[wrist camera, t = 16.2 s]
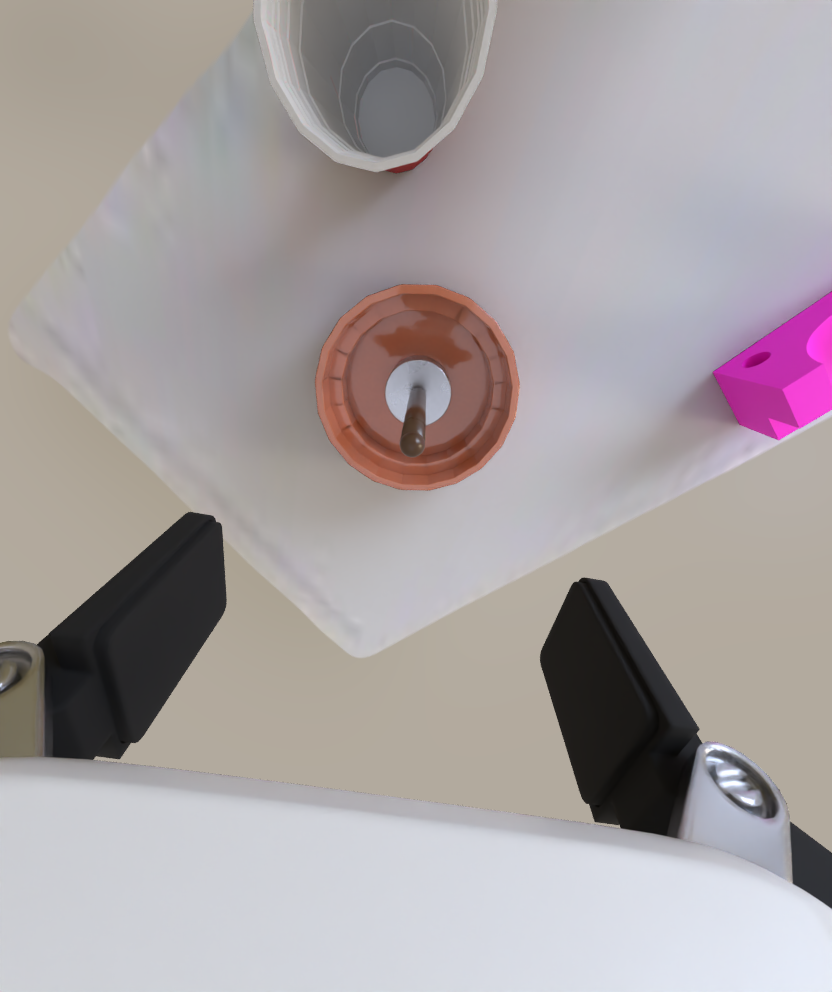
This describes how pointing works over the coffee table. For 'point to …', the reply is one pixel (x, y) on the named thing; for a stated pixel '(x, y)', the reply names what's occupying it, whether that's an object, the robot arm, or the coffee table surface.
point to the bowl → (373, 355)
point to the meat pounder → (417, 399)
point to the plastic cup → (375, 72)
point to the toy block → (783, 374)
